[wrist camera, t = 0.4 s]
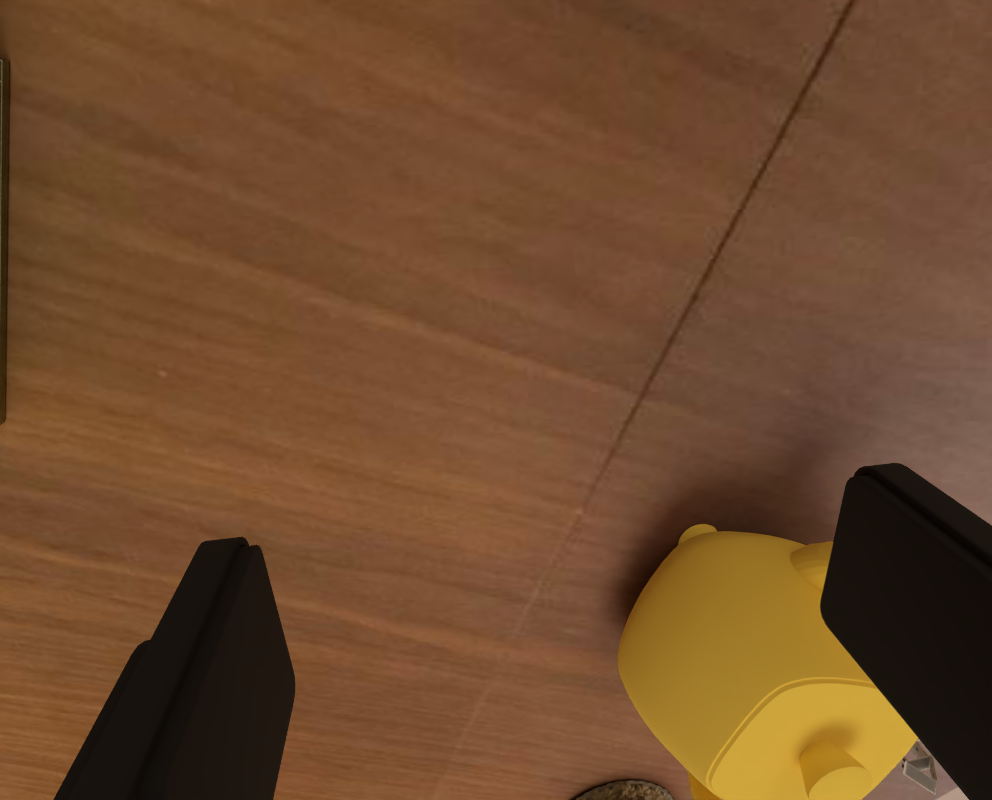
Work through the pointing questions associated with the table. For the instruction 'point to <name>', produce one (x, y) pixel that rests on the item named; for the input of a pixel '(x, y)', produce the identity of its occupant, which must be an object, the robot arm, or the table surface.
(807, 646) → the teapot
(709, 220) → the table surface
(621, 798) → the cake
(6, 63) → the bin
